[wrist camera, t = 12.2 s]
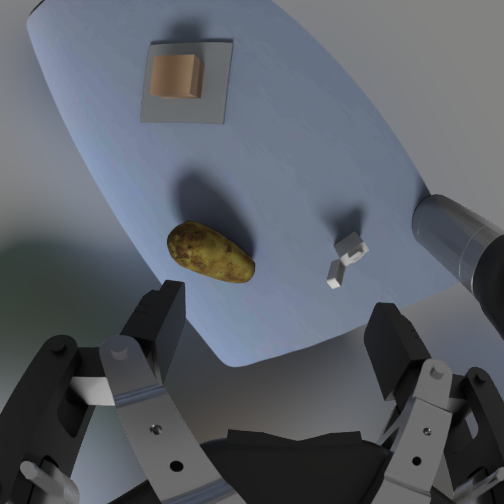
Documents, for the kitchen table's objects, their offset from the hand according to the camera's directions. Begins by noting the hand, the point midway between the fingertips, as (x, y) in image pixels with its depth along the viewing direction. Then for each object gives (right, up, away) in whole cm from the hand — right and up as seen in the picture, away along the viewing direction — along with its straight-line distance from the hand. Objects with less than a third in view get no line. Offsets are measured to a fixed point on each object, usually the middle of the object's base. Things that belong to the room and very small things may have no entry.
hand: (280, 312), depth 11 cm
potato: (-7, +4, +32) cm, 33 cm away
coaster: (-10, +26, +22) cm, 35 cm away
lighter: (+12, +3, +31) cm, 34 cm away
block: (-10, +25, +21) cm, 35 cm away
